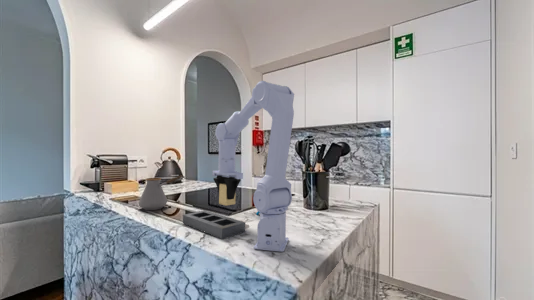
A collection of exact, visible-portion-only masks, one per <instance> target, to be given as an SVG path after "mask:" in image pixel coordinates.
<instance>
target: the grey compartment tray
mask: <svg viewBox="0 0 534 300" xmlns="http://www.w3.org/2000/svg"><path fill="white" fill-rule="evenodd" d="M183 223H184V225H185V224H186V226H188V225H189V226H188V227H190V226H192V227H191V228H193V227H194V229H195V228H197V229H196V230H198V229H199V230H198V231H200V230H202V231H201V232H203V231H205V232H207V233H206V234H208V233H210V234H212V235H211V236H213V235H214V236H213V237H216V238H218V239H221V240H224V239H227V238H231V237H234V236H237V235H240V234H243V233H245V232H246V222H245V221H241V220H239V219H235V218H232V217H228V216H226V215H222V214H219V213H214V212H212V211H208V210H201V211H196V212H189V213H186V214H183V215H182V224H183ZM205 232H204V233H205ZM210 234H209V235H210Z"/></svg>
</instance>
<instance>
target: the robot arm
mask: <svg viewBox="0 0 534 300" xmlns="http://www.w3.org/2000/svg"><path fill="white" fill-rule="evenodd" d="M294 98H295V93H294V92H293V90H292V89H291V88H290V87H289V86H285V85H280V84H276V83H271V82H268V81H265V80H259V81H258V82H257V83H256V85H255V86H254V87H253V88H252V91H251V97H250V99H248V101H247V102H246V104H245V105H244V106H243V108H242V109H241V110H240V111H239V110H237V111H234V112H233V113H232V115H230V117H229V118H228V119H227V120H226V121H225V122H223V123H222V122H221V123H218V124H217V126H216V127H215V138H216V140H217V141H218V170H212V177H213V181H214V183H215V185H216V188H217V190H218V191H217V192H218V193H219V184H221V183H226V187H227V197H228V200H230V199H234V196H235V192H236V191H237V189H238V186H239V184H240V183H241V181H242V180H244V172H239V171H238V170H236V146H237V144H238V140H239V138H240V137H239V136H240V133H241V132H242V131H243V130H244V129H245V128H246V127H247V126H248V125H249V119H250V118H252V117H253V116H255V115H256V114H257V113H258V112H259V111H261V110H262V109H263V110H265V111H266V112H267V113H268V114H269V116H270V117H271V127H270V133H269V143H268V151H267V157H266V166H265V167H266V168H265V174H264V176H263V177H261V179H260V180H258V182H257V185H256V189H255V191H254V194H253V197H252V199H253V204H254V206H255V209H256V210H257V212H260V214H259V221H258V222H257V229H256V230H257V234H256V235H257V237H256V238H257V240H256V242H255V245H254V246H253V249H254V250H260V251H263V250H264V251H271V252H280V253H281V252H285V249H286V247H287V244H288V242H289V238H290V237H287V236H286V235H287V233H286V231H287V229H286V228H287V221H286V219H287V212H288V210H289V208H288V207H290V205H291V204H292V201H293V194H292V183H291V182H290V181H289V180H288V179H287V178H286V174H287V166H288V159H289V152H290V146H291V145H290V144H291V138H292V137H291V136H292V129H293V123H294V118H295V117H294V114H295V111H294Z"/></svg>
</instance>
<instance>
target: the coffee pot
mask: <svg viewBox="0 0 534 300" xmlns="http://www.w3.org/2000/svg"><path fill="white" fill-rule="evenodd" d="M183 178H184V179H183ZM185 178H186V177H185V176H184V175H183V174H182V175H181V174H180V175H177V176H176V177H172V178H171V179H169V180H166V181H165V182H163V183H161V180H162V177H149V178H145V181H146V185H145V188H144V190H143V191H142V194H141V196H140V198H139V201H138V205H139V206H140V207H141V208H142V209H143V210H146V211H155V210H161V209H163V207H164V206H166V205H167V203H168V199H167V196H166V194H165V191H164V190H163V187H164V186H165V185H167V184H169V183H173V182H175V181H176V180H179V179H181V180H182V181H184V180H185Z"/></svg>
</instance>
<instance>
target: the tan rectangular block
mask: <svg viewBox="0 0 534 300" xmlns="http://www.w3.org/2000/svg"><path fill="white" fill-rule="evenodd" d="M236 198H237V196H236V192H235V196H234V199H230V200H228V197H227V187H226V183H221V184H219V192H218V204H219V205H221V206H222V205H223V206H226V207H227V206H231V205H236Z"/></svg>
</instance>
